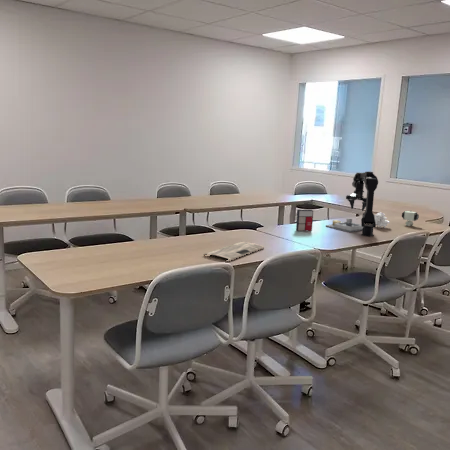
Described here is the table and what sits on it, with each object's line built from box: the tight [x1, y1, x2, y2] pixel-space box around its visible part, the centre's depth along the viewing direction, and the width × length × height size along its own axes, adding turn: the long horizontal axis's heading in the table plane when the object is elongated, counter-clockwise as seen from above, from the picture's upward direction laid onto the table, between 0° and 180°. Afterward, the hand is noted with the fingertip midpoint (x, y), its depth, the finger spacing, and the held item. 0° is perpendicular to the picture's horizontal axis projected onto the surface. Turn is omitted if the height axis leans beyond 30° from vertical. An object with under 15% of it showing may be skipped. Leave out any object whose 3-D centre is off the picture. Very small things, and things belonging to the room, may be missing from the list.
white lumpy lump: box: [374, 211, 390, 229], centre depth 352 cm, size 11×12×12 cm
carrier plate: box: [325, 220, 363, 233], centre depth 346 cm, size 22×17×4 cm
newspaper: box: [203, 241, 265, 262], centre depth 268 cm, size 37×19×3 cm, turn 145°
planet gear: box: [342, 218, 354, 227], centre depth 343 cm, size 11×11×6 cm
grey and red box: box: [295, 209, 314, 232], centre depth 331 cm, size 11×4×15 cm, turn 101°
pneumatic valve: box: [401, 210, 420, 227], centre depth 364 cm, size 6×12×12 cm, turn 48°
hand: (357, 209), depth 350 cm, fingers open, 9 cm apart
